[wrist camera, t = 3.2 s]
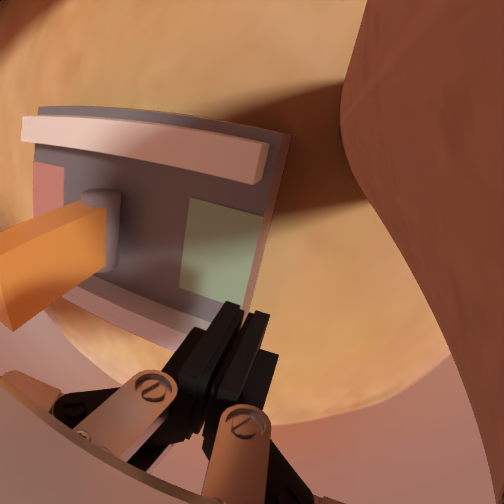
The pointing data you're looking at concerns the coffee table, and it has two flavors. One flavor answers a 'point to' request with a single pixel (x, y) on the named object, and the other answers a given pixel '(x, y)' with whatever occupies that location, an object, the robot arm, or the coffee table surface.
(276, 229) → the coffee table surface
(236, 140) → the breaker block
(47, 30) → the coffee table surface
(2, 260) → the breaker lever
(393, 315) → the coffee table surface
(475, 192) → the travel mug
